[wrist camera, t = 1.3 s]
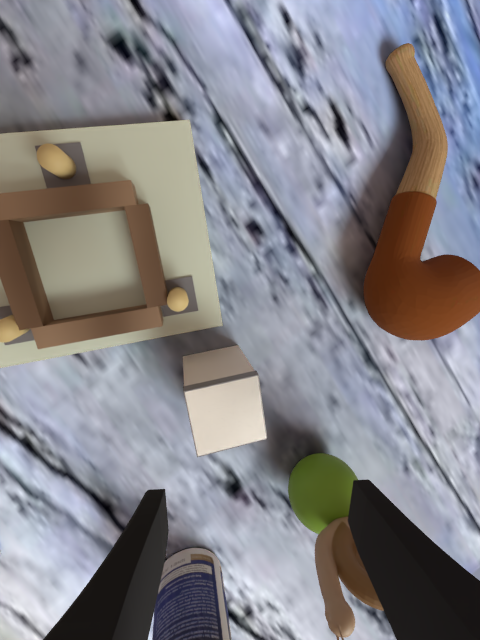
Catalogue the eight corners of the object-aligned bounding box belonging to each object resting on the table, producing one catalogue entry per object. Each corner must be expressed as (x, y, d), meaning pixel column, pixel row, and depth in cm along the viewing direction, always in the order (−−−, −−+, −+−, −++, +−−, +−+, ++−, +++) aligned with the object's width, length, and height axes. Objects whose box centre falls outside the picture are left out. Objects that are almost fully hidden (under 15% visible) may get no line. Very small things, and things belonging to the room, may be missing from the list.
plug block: (192, 407, 22) (197, 457, 16) (181, 355, 21) (183, 391, 15) (246, 394, 22) (267, 438, 17) (238, 344, 21) (258, 374, 16)
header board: (-75, 376, 18) (-124, 401, 15) (-175, 156, 15) (-260, 133, 12) (220, 321, 21) (227, 332, 18) (188, 128, 18) (191, 104, 15)
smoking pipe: (353, 338, 23) (407, 366, 18) (318, 68, 18) (378, -9, 13) (431, 315, 24) (505, 334, 19) (418, 52, 19) (513, -26, 14)
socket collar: (38, 343, 17) (25, 351, 16) (-10, 201, 15) (-29, 196, 14) (173, 318, 19) (172, 324, 17) (145, 184, 17) (142, 178, 15)
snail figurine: (268, 444, 24) (353, 624, 12) (341, 435, 25) (478, 591, 14) (266, 500, 25) (341, 711, 14) (335, 489, 26) (457, 673, 15)
